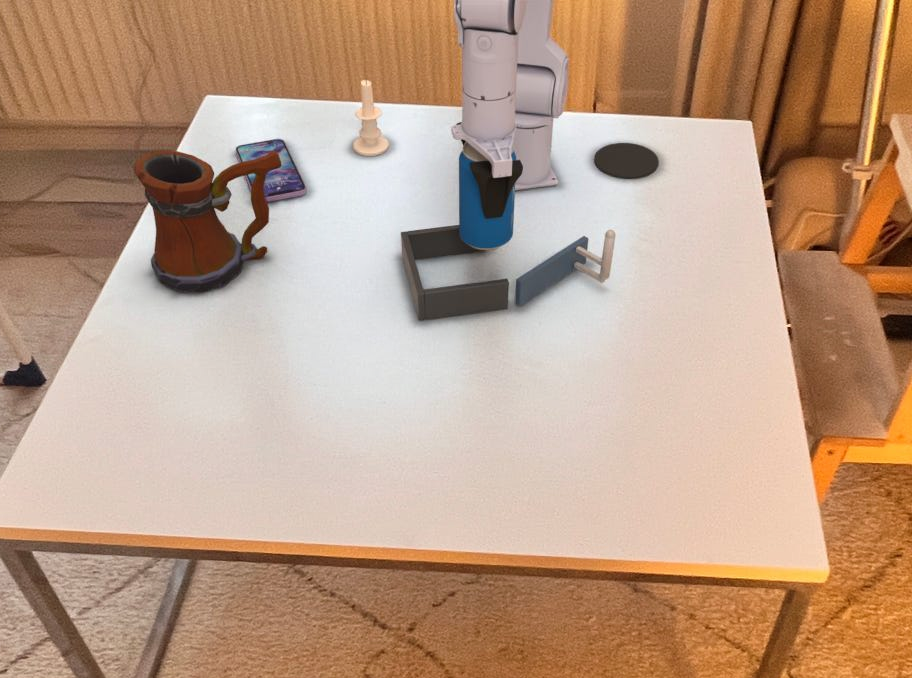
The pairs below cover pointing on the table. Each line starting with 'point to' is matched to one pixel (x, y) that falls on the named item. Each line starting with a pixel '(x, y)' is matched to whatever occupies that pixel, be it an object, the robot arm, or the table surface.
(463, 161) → the beverage can
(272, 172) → the smartphone
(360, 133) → the candle
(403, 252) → the dark grey u-shaped piece
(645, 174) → the coaster
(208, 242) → the mug
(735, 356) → the table surface
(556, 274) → the cooler door
